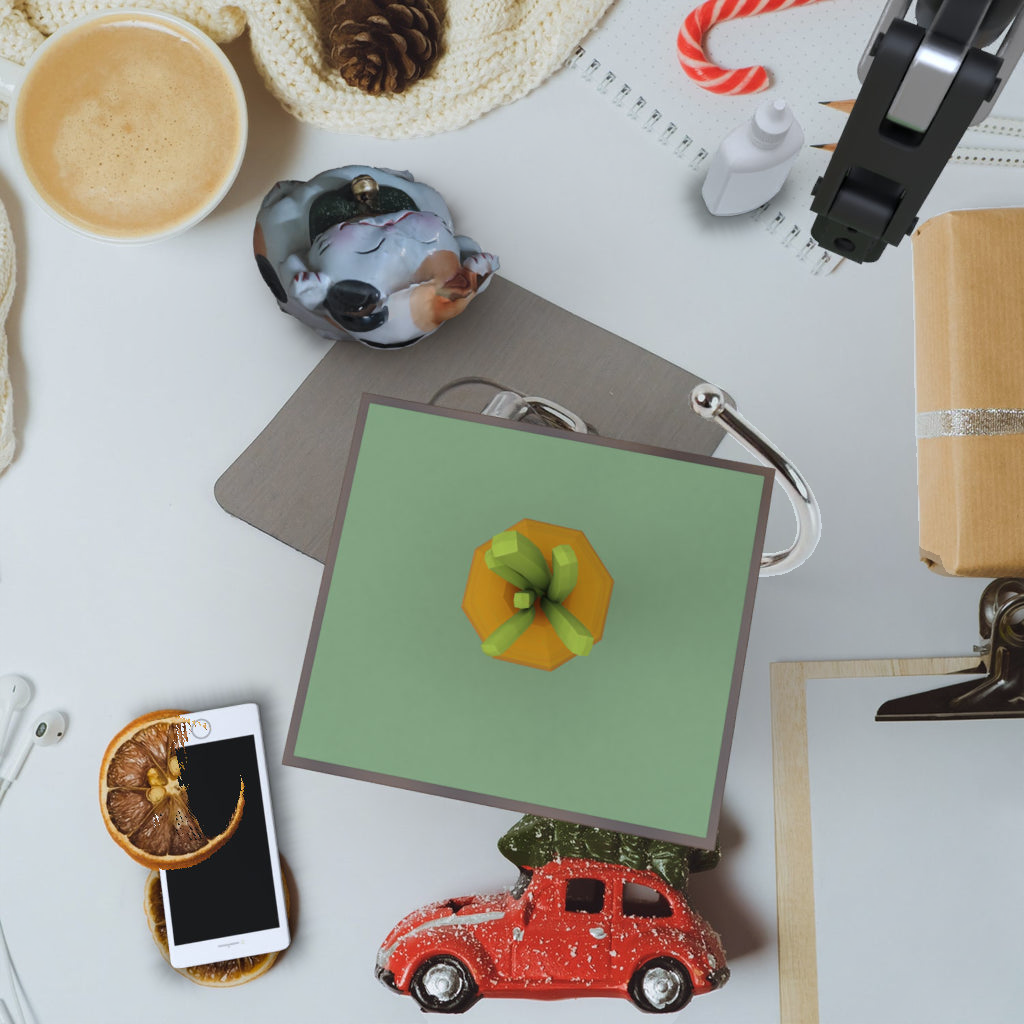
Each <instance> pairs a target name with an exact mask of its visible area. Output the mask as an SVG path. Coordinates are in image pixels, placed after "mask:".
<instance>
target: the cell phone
mask: <svg viewBox="0 0 1024 1024" xmlns="http://www.w3.org/2000/svg"><path fill="white" fill-rule="evenodd" d="M260 712H261V711H260V706H259V705H258V704H257V703H254V702H249V703H247V702H246V703H242V704H236V705H232V706H231V705H230V706H225V707H219V708H213V709H208V710H202V711H197V712H196V711H195V712H190V713H185V714H180V715H179V716H180V718H182V717H183V718H185V720H186V719H187V720H188V719H190V725H191V727H190V725H189V724H188V723H187V722H186V723H185V725H186V731H187V737H188V742H187V741H186V739H185V738H184V736H183V735H182V737H183V738H184V740H185V742H184V740H183V742H184V747H185V749H184V748H183V746H182V745H181V743H180V742H179V740H178V742H179V747H180V749H179V748H178V750H179V751H178V750H177V749H176V747H175V751H176V756H177V760H178V764H179V763H180V764H181V765H184V768H185V770H184V769H183V768H182V766H181V765H180V764H179V768H180V767H181V769H180V772H181V775H180V776H181V779H182V780H181V779H180V777H179V776H178V778H177V779H178V782H179V786H180V787H181V786H183V784H184V786H185V787H186V788H187V790H186V792H187V795H188V800H189V801H188V800H187V801H188V803H189V804H188V803H187V804H188V806H189V807H190V808H189V807H188V806H187V805H186V806H187V807H188V809H189V810H190V809H191V810H192V811H191V810H190V812H191V813H192V814H193V815H194V816H195V817H196V818H195V817H194V816H193V815H192V814H191V813H190V812H189V810H188V812H189V814H190V815H191V816H193V817H194V818H195V819H197V821H198V823H199V826H200V828H201V830H202V832H203V834H204V836H206V837H208V836H210V838H212V837H214V836H218V835H219V834H221V833H222V832H223V831H225V830H226V828H227V827H228V826H229V821H231V817H232V813H233V814H234V812H235V807H236V808H237V803H238V800H239V798H240V797H239V796H240V791H242V790H241V782H242V781H243V783H244V786H245V787H244V789H243V790H244V792H243V794H244V795H243V794H242V795H243V797H244V800H245V805H244V807H243V815H242V817H241V819H242V820H241V821H240V822H239V824H238V825H239V826H238V828H237V829H236V831H235V833H234V834H233V835H232V837H231V838H230V839H228V840H229V841H227V842H226V843H225V845H223V846H221V848H220V849H218V850H217V852H215V853H213V854H212V855H211V856H210V858H207V859H206V860H204V861H201V863H198V864H197V865H193V866H192V867H189V868H188V867H187V868H182V869H181V868H180V869H174V870H171V869H169V870H166V869H165V870H162V869H160V868H159V874H160V875H159V876H160V885H161V890H162V901H163V908H164V917H165V926H166V932H167V943H168V949H169V959H170V965H171V966H172V967H173V968H174V969H185V968H189V967H190V968H191V967H195V966H203V965H208V964H212V963H217V962H219V963H220V962H224V961H229V960H235V959H241V958H246V957H247V958H248V957H252V956H257V955H264V954H270V953H274V952H279V951H283V950H286V949H287V948H289V946H290V944H291V942H292V939H291V933H290V926H289V919H288V911H287V905H286V897H285V890H284V883H283V875H282V869H281V868H282V867H281V861H280V860H281V859H280V853H279V846H278V838H277V831H276V824H275V823H276V822H275V817H274V810H273V802H272V794H271V788H270V780H269V772H268V766H267V757H266V751H265V743H264V735H263V728H262V720H261V714H260ZM183 718H182V719H183ZM194 720H195V725H196V727H195V725H194V724H193V722H192V721H194ZM197 721H198V722H200V724H201V726H200V725H199V723H198V722H197ZM204 723H206V729H207V730H206V729H205V728H204V727H203V725H205V724H204ZM182 726H184V724H183V723H181V731H182V734H184V732H183V731H184V728H183V727H182ZM209 726H210V727H209ZM176 727H177V725H176ZM177 728H178V727H177ZM210 728H211V729H210ZM178 729H179V728H178ZM189 729H190V730H191V731H192V732H191V731H190V730H189ZM176 730H177V729H176ZM189 733H190V734H189ZM177 734H179V733H178V731H177ZM177 736H178V735H177ZM178 739H179V736H178ZM173 741H174V740H173ZM174 743H175V742H174ZM175 744H176V743H175ZM170 748H171V747H170ZM184 750H185V752H186V754H185V753H184ZM171 754H172V752H171ZM185 757H187V759H186V758H185ZM186 761H187V763H186ZM181 762H183V764H182V763H181ZM240 775H241V776H240ZM241 778H242V781H241ZM188 784H189V785H188ZM187 786H188V787H187ZM181 788H182V787H181ZM186 788H185V789H186ZM188 788H189V789H188ZM182 795H183V794H182ZM178 812H179V811H178ZM179 814H180V812H179ZM155 815H156V814H155ZM160 816H162V815H161V814H160ZM176 816H177V815H176ZM191 816H190V817H191ZM152 817H153V816H152ZM180 817H181V816H180ZM185 817H186V816H185ZM156 818H157V820H158V818H159V817H158V816H157V815H156ZM186 818H187V817H186ZM191 818H192V817H191ZM154 819H155V818H154V817H153V825H155V824H154V822H155V821H154ZM181 819H182V817H181ZM192 819H193V818H192ZM229 819H230V820H229ZM162 820H163V819H162ZM176 820H178V819H177V818H176ZM193 820H194V819H193ZM158 822H159V820H158ZM182 822H183V821H182ZM187 822H188V821H187ZM192 822H193V821H192ZM159 825H160V824H159ZM178 825H180V824H179V823H178ZM203 825H204V826H203ZM226 825H227V826H226ZM155 826H156V825H155ZM155 826H154V827H155ZM189 827H190V826H189ZM195 828H196V827H195ZM175 829H176V828H175ZM180 829H181V828H180ZM190 829H191V830H193V829H192V828H191V827H190ZM196 830H198V829H197V828H196ZM176 831H178V830H177V829H176ZM198 831H199V830H198ZM192 833H193V832H192ZM197 833H198V832H197ZM200 833H201V832H200ZM177 834H178V833H177ZM182 834H183V833H182ZM187 834H188V833H187ZM178 835H179V834H178ZM188 835H189V834H188ZM193 835H194V836H196V835H195V834H194V833H193ZM198 835H199V837H200V839H202V838H201V835H200V834H199V833H198ZM207 835H208V836H207ZM206 837H205V838H206ZM189 838H190V837H189ZM194 838H195V837H194ZM179 839H180V838H179ZM190 840H192V839H191V838H190ZM195 840H197V839H196V838H195Z"/></svg>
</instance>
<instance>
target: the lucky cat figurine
mask: <svg viewBox="0 0 1024 1024" xmlns="http://www.w3.org/2000/svg"><path fill="white" fill-rule="evenodd" d="M252 247H253V256H254V260H255V262H256V265H257V267H258V271H259V273H260V275H261V277H262V279H263V281H264V283H265V284H266V285H267V286H268V287H267V288H269V290H270V292H271V293H272V295H273V296H274V298H275V301H276V304H277V306H278V307H279V310H280V311H281V312H283V313H284V314H287V315H290V316H292V317H294V318H295V319H297V320H298V321H299V322H301V323H302V324H304V325H306V326H308V327H309V328H311V329H312V330H313V331H314V332H315V333H316V334H317V335H319V336H320V337H321V339H325V340H329V341H336V342H337V341H340V342H342V341H347V342H348V341H349V342H350V341H356V342H359V343H361V344H362V345H364V346H366V347H368V348H372V349H375V350H387V351H397V350H402V349H404V348H409V347H412V346H415V345H416V344H418V343H419V342H420V341H422V340H423V339H425V338H427V337H429V336H431V335H433V334H434V333H435V332H436V331H438V329H439V328H440V327H441V326H442V325H443V324H444V323H445V322H447V321H448V320H451V319H453V318H456V317H457V316H459V315H461V314H462V313H463V312H464V311H465V310H466V309H467V306H468V305H469V303H470V302H471V301H472V300H473V299H474V298H475V297H477V295H479V294H481V293H482V292H485V290H486V289H487V288H488V287H489V285H490V283H491V280H492V277H493V276H494V274H495V273H496V272H497V271H498V270H499V269H500V268H501V264H500V261H499V260H500V256H498V255H497V254H496V255H493V254H492V253H489V252H483V250H482V248H481V246H480V244H479V243H478V242H477V241H476V240H474V239H473V238H472V237H471V236H467V235H462V234H459V235H456V233H455V228H454V222H453V220H452V216H451V213H450V211H449V208H448V205H447V204H446V200H445V199H444V197H443V195H442V194H441V193H440V192H439V191H438V190H436V189H435V188H434V187H432V186H431V185H429V184H426V183H423V182H421V181H415V176H414V175H413V173H412V172H410V171H409V169H406V170H405V169H404V170H396V169H392V168H389V167H377V166H374V167H373V166H370V165H363V164H362V165H361V164H348V165H343V166H341V167H335V168H330V169H327V170H323V171H321V172H320V173H318V174H316V175H314V176H313V177H312V178H310V179H308V180H307V181H305V180H304V181H303V180H297V179H291V180H290V179H286V180H280V181H279V180H278V181H276V182H275V184H273V186H272V188H271V189H270V190H269V191H268V192H267V194H265V196H264V197H263V199H262V202H261V204H260V208H259V210H258V212H257V213H256V218H255V222H254V228H253V232H252Z"/></svg>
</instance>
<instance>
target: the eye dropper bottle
mask: <svg viewBox="0 0 1024 1024" xmlns="http://www.w3.org/2000/svg"><path fill="white" fill-rule="evenodd" d="M804 144H805V134H804V131H803V129H802V126H801V124H800V122H799V121H798V119H797V118H796V116H794V114H793V110H792V108H791V106H790V105H789V104H788V103H787V102H785V101H784V100H783V99H782V98H778V99H777V98H769V99H766V100H764V101H762V102H761V103H759V104H758V105H757V107H756V109H755V111H754V113H753V116H752V118H750V119H748V120H746V121H744V122H742V123H741V124H739V125H737V126H736V127H735V128H733V129H732V130H731V131H730V132H729V133H728V134H727V135H726V136H724V137H723V139H722V140H721V141H720V143H719V145H718V147H717V149H716V151H715V154H714V156H713V159H712V161H711V163H710V167H709V169H708V171H707V174H706V177H705V180H704V183H703V185H702V188H701V196H702V199H703V201H704V203H705V205H706V208H707V209H708V212H710V214H711V215H713V216H716V217H730V216H731V217H732V216H739V215H743V214H746V213H749V212H752V211H754V210H756V209H758V208H760V207H762V206H763V205H765V204H766V203H767V202H769V201H770V200H771V199H773V198H774V197H775V196H776V195H777V194H778V193H779V192H780V190H781V189H782V187H783V185H784V183H785V181H786V179H787V178H788V176H789V174H790V172H791V170H792V168H793V166H794V164H795V162H796V161H797V159H798V157H799V154H800V153H801V150H802V149H803V146H804Z"/></svg>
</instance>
